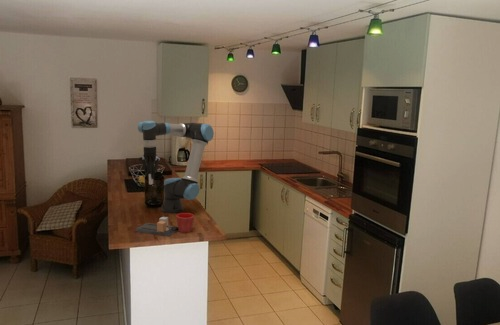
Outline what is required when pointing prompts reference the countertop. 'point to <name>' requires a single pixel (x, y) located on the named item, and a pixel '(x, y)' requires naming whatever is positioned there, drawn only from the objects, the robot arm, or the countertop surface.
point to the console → (153, 229)
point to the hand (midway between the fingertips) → (151, 183)
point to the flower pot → (185, 222)
